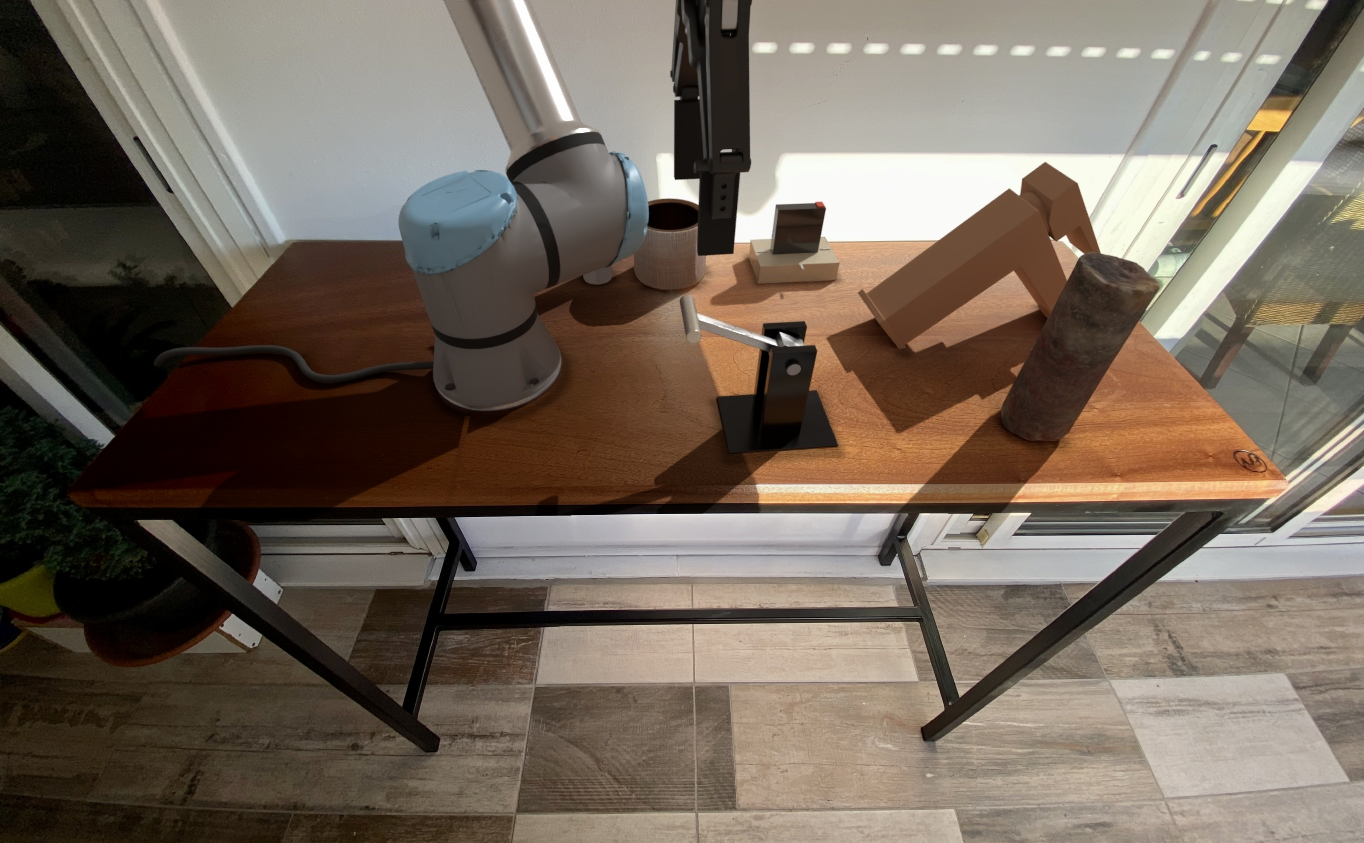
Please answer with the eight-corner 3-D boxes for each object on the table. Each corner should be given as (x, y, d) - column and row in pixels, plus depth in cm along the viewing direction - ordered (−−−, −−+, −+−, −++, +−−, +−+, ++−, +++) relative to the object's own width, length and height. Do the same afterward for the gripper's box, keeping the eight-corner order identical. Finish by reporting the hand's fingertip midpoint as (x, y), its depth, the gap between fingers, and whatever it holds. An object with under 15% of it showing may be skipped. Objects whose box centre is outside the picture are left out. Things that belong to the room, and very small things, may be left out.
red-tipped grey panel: (772, 254, 90) (778, 208, 85) (770, 248, 91) (775, 202, 86) (817, 252, 90) (826, 206, 85) (814, 246, 92) (823, 201, 86)
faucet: (947, 410, 88) (1120, 303, 78) (879, 323, 73) (1080, 181, 64) (925, 379, 93) (1085, 275, 83) (857, 292, 78) (1040, 156, 69)
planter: (717, 266, 93) (720, 207, 86) (685, 300, 86) (686, 239, 79) (656, 249, 97) (655, 191, 90) (621, 281, 90) (616, 221, 83)
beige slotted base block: (760, 289, 88) (762, 270, 86) (746, 251, 96) (748, 233, 94) (838, 285, 89) (843, 267, 87) (819, 248, 97) (822, 230, 95)
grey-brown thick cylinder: (1002, 392, 73) (1081, 241, 59) (1068, 412, 70) (1166, 259, 56) (993, 432, 68) (1077, 278, 54) (1064, 454, 65) (1171, 299, 51)
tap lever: (681, 344, 55) (692, 324, 53) (675, 307, 59) (685, 288, 57) (799, 382, 59) (812, 365, 58) (785, 345, 64) (797, 328, 62)
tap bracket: (728, 460, 64) (737, 369, 55) (716, 403, 71) (722, 313, 62) (836, 452, 65) (862, 361, 56) (815, 397, 72) (835, 307, 63)
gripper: (845, -117, 27) (782, 290, 42) (734, -142, 44) (717, 152, 59) (679, -118, 26) (676, 297, 41) (632, -143, 43) (642, 155, 58)
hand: (700, 212), depth 50 cm, fingers open, 13 cm apart
